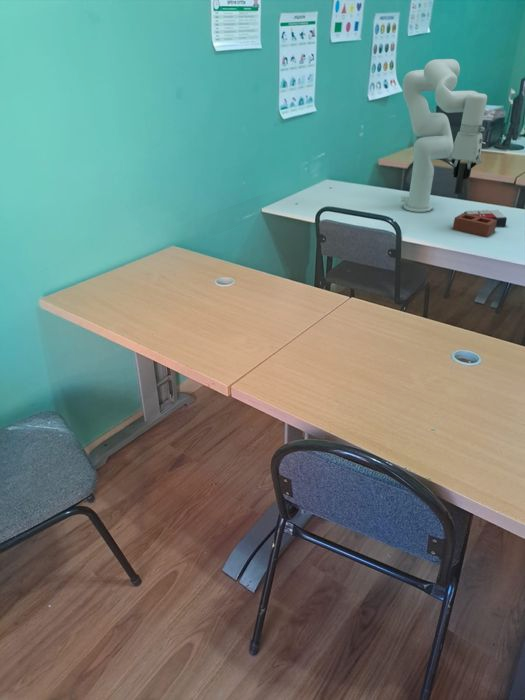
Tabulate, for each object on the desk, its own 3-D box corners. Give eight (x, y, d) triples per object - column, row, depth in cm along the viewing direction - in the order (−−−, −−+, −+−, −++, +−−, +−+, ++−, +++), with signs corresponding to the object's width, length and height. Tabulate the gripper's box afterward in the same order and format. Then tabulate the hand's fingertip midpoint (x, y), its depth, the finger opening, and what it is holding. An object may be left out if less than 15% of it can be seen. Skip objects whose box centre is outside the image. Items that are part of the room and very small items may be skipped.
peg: (451, 193, 211) (457, 162, 204) (455, 191, 213) (461, 161, 207) (460, 194, 209) (466, 164, 202) (464, 192, 211) (470, 162, 205)
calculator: (464, 210, 228) (499, 208, 226) (462, 219, 230) (497, 218, 228) (470, 217, 218) (507, 216, 217) (469, 227, 220) (505, 226, 219)
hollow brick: (452, 229, 217) (454, 217, 215) (460, 224, 222) (463, 213, 220) (486, 237, 209) (489, 225, 206) (494, 231, 214) (497, 220, 211)
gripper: (495, 130, 196) (484, 179, 205) (454, 125, 205) (445, 172, 215) (488, 133, 191) (477, 183, 201) (445, 128, 200) (437, 176, 210)
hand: (461, 177), depth 208 cm, fingers closed on peg, 3 cm apart
